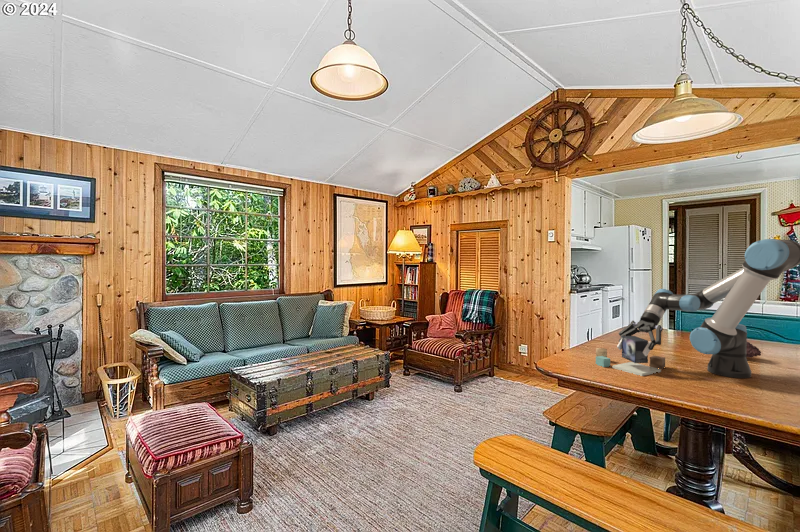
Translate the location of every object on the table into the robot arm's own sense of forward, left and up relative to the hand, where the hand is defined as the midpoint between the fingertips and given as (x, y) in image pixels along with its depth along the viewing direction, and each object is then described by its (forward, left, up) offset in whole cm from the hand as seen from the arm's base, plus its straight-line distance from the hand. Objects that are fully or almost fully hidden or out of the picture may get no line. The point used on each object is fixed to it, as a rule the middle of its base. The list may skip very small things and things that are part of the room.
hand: (631, 351), depth 179 cm
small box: (0, -2, -5) cm, 5 cm away
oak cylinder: (+17, -3, -9) cm, 20 cm away
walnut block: (-3, -16, -9) cm, 18 cm away
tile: (-1, -3, -9) cm, 9 cm away
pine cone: (-13, -70, -9) cm, 71 cm away
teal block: (+11, +4, -9) cm, 15 cm away
